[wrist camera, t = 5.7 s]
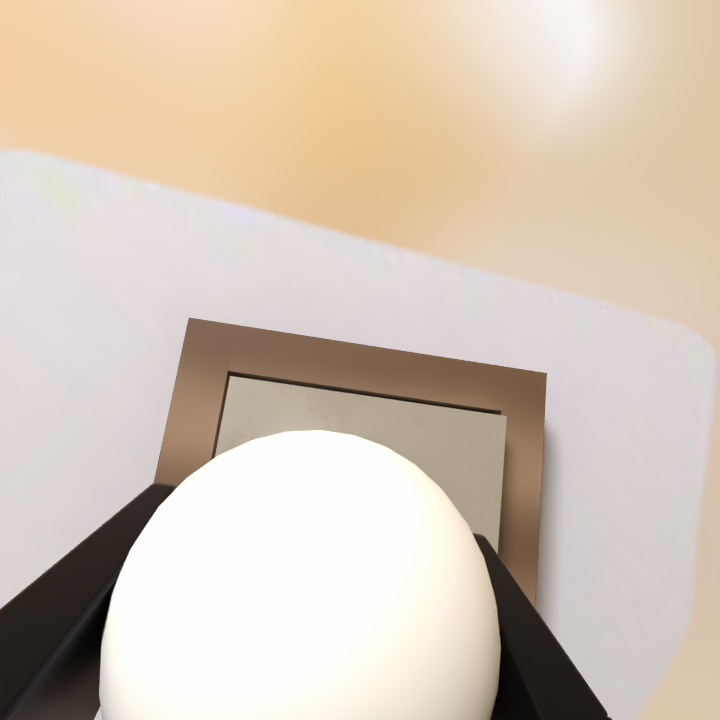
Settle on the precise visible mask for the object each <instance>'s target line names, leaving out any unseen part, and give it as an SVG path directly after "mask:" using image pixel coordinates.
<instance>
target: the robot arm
mask: <svg viewBox="0 0 720 720" xmlns="http://www.w3.org/2000/svg"><path fill="white" fill-rule="evenodd" d="M175 489H176V486H175V485H172V484H166V483H160V482H156V483H153V484H152V485H150V486H149V487H148V488H147V489H146V490H144V491H143V492H142V493H141V494H139V495H138V496H137V497H136V498H135V499H133V500H132V501H131V502H130V503H129V504H127V505H126V506H125V507H124V508H122V509H121V510H120V511H119V512H118V513H116V514H115V515H114V516H113V517H112V518H110V519H109V520H108V521H107V522H105V523H104V524H103V525H102V526H101V527H99V528H98V529H97V530H96V531H95V532H93V533H92V534H91V535H90V536H88V537H87V538H86V539H85V540H84V541H82V542H81V543H80V544H79V545H78V546H76V547H75V548H74V549H73V550H71V551H70V552H69V553H68V554H67V555H65V556H64V557H63V558H62V559H61V560H59V561H58V562H57V563H56V564H54V565H53V566H52V567H51V568H50V569H48V570H47V571H46V572H45V573H44V574H42V575H41V576H40V577H39V578H37V579H36V580H35V581H34V582H33V583H31V584H30V585H29V586H28V587H27V588H25V589H24V590H23V591H22V592H20V593H19V594H18V595H17V596H16V597H14V598H13V599H12V600H11V601H10V602H8V603H7V604H6V605H5V606H3V607H2V608H1V609H0V720H94V718H95V716H96V714H97V712H98V710H99V708H100V698H99V685H100V664H101V645H102V633H103V629H104V624H105V620H106V616H107V612H108V608H109V603H110V599H111V595H112V591H113V588H114V586H115V584H116V581H117V579H118V577H119V575H120V572H121V570H122V568H123V565H124V563H125V561H126V559H127V556H128V554H129V552H130V550H131V548H132V546H133V545H134V543H135V542H136V540H137V538H138V537H139V535H140V534H141V532H142V531H143V530H144V528H145V527H146V525H147V524H148V522H149V521H150V519H151V518H152V516H153V515H154V513H155V512H156V510H157V509H158V507H159V506H160V505H161V504H162V503H163V502H164V501H165V500H166V499H167V498H168V497H169V496H170V495H171V494H172V493H173V492H174V490H175ZM472 534H473V536H474V538H475V540H476V542H477V544H478V546H479V548H480V550H481V552H482V554H483V556H484V560H485V563H486V567H487V570H488V574H489V577H490V581H491V584H492V588H493V591H494V595H495V600H496V606H497V615H498V624H499V634H500V644H501V653H500V667H499V682H498V691H497V695H496V699H495V703H494V708H493V712H492V716H491V720H612V719H611V718H610V717H608V715H607V712H606V710H605V709H604V707H603V706H602V704H601V703H600V702H599V700H598V699H597V697H596V696H595V694H594V693H593V691H592V690H591V689H590V687H589V686H588V684H587V683H586V681H585V680H584V678H583V677H582V675H581V674H580V673H579V671H578V670H577V668H576V667H575V665H574V664H573V662H572V661H571V660H570V658H569V657H568V655H567V654H566V652H565V651H564V649H563V648H562V647H561V645H560V644H559V642H558V641H557V639H556V638H555V636H554V635H553V634H552V632H551V631H550V629H549V628H548V626H547V625H546V623H545V622H544V621H543V619H542V618H541V616H540V615H539V613H538V612H537V610H536V609H535V608H534V606H533V605H532V603H531V602H530V600H529V599H528V597H527V596H526V595H525V593H524V592H523V590H522V589H521V587H520V586H519V584H518V583H517V581H516V580H515V579H514V577H513V576H512V574H511V573H510V571H509V570H508V568H507V567H506V566H505V564H504V563H503V561H502V560H501V558H500V557H499V555H498V554H497V553H496V551H495V550H494V548H493V547H492V545H491V544H490V542H489V541H488V540H487V538H486V537H485V536H483V535H481V534H476V533H472Z"/></svg>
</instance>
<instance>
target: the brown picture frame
mask: <svg viewBox="0 0 720 720" xmlns="http://www.w3.org/2000/svg"><path fill="white" fill-rule="evenodd" d="M230 376H234V377H241V378H248V379H254V380H261V381H268V382H275V383H282V384H289V385H296V386H303V387H309V388H316V389H323V390H330V391H337V392H344V393H351V394H358V395H364V396H371V397H378V398H385V399H392V400H399V401H406V402H413V403H419V404H426V405H433V406H440V407H447V408H454V409H461V410H468V411H474V412H481V413H488V414H495V415H502V416H507V421H506V436H505V451H504V466H503V481H502V496H501V511H500V525H499V540H498V555H499V557H500V558H501V560H502V561H503V563H504V564H505V566H506V567H507V568H508V570H509V571H510V573H511V574H512V576H513V577H514V579H515V580H516V581H517V583H518V584H519V586H520V587H521V589H522V590H523V592H524V593H525V595H526V596H527V597H528V599H529V600H530V602H531V603H532V605H533V606H534V608H535V595H536V575H537V556H538V536H539V516H540V496H541V477H542V457H543V437H544V418H545V398H546V378H547V373H542V372H535V371H529V370H522V369H516V368H510V367H503V366H497V365H490V364H484V363H477V362H471V361H464V360H458V359H452V358H445V357H439V356H432V355H426V354H419V353H413V352H407V351H400V350H394V349H387V348H381V347H374V346H368V345H362V344H355V343H349V342H342V341H336V340H329V339H323V338H316V337H310V336H304V335H297V334H291V333H284V332H278V331H271V330H265V329H259V328H252V327H246V326H239V325H233V324H226V323H220V322H214V321H207V320H201V319H194V318H189V320H188V324H187V329H186V334H185V338H184V343H183V348H182V353H181V357H180V362H179V367H178V371H177V376H176V381H175V385H174V390H173V395H172V400H171V404H170V409H169V414H168V418H167V423H166V428H165V432H164V437H163V442H162V447H161V451H160V456H159V461H158V465H157V470H156V475H155V480H154V483H156V482H160V483H166V484H172V485H175V486H176V488H177V487H178V486H179V485H180V484H181V483H182V482H183V481H184V480H185V479H186V478H187V477H189V476H190V475H192V474H193V473H194V472H196V471H197V470H199V469H200V468H201V467H203V466H204V465H206V464H207V463H208V462H210V461H211V460H213V459H214V458H215V454H216V448H217V443H218V438H219V433H220V427H221V422H222V417H223V411H224V406H225V401H226V396H227V390H228V385H229V380H230Z"/></svg>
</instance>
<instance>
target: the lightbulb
mask: <svg viewBox="0 0 720 720" xmlns="http://www.w3.org/2000/svg"><path fill="white" fill-rule="evenodd" d="M500 653H501V644H500V634H499V624H498V615H497V606H496V600H495V595H494V591H493V588H492V584H491V581H490V577H489V574H488V570H487V567H486V563H485V560H484V556H483V554H482V552H481V550H480V548H479V546H478V544H477V542H476V540H475V538H474V536H473V534H472V532H471V530H470V528H469V526H468V524H467V522H466V521H465V520H464V518H463V517H462V516H461V514H460V513H459V512H458V510H457V509H456V507H455V506H454V505H453V503H452V502H451V501H450V499H449V498H448V497H447V495H446V494H445V493H444V491H443V490H442V489H441V488H440V487H439V486H438V485H437V484H436V483H435V482H434V481H433V480H432V479H431V478H429V477H428V476H427V475H426V474H425V473H424V472H423V471H422V470H421V469H420V468H419V467H417V466H416V465H415V464H414V463H412V462H410V461H409V460H407V459H405V458H404V457H402V456H401V455H399V454H397V453H396V452H394V451H392V450H391V449H389V448H387V447H385V446H383V445H380V444H377V443H375V442H372V441H369V440H366V439H364V438H361V437H358V436H355V435H350V434H343V433H337V432H330V431H323V430H312V431H292V432H283V433H279V434H275V435H271V436H267V437H263V438H259V439H255V440H251V441H249V442H247V443H245V444H242V445H240V446H238V447H236V448H234V449H232V450H229V451H227V452H225V453H223V454H221V455H219V456H217V457H215V458H214V459H213V460H211V461H210V462H208V463H207V464H206V465H204V466H203V467H201V468H200V469H199V470H197V471H196V472H194V473H193V474H192V475H190V476H189V477H187V478H186V479H185V480H184V481H183V482H182V483H181V484H180V485H179V486H178V487H177V488H176V489H175V490H174V492H173V493H172V494H171V495H170V496H169V497H168V498H167V499H166V500H165V501H164V502H163V503H162V504H161V505H160V506H159V507H158V509H157V510H156V512H155V513H154V515H153V516H152V518H151V519H150V521H149V522H148V524H147V525H146V527H145V528H144V530H143V531H142V532H141V534H140V535H139V537H138V538H137V540H136V542H135V543H134V545H133V546H132V548H131V550H130V552H129V554H128V556H127V559H126V561H125V563H124V565H123V568H122V570H121V572H120V575H119V577H118V579H117V581H116V584H115V586H114V588H113V591H112V595H111V599H110V603H109V608H108V612H107V616H106V620H105V624H104V629H103V633H102V645H101V664H100V685H99V698H100V705H101V712H102V718H103V720H491V716H492V712H493V708H494V703H495V699H496V695H497V691H498V682H499V667H500Z"/></svg>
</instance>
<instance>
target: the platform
mask: <svg viewBox="0 0 720 720" xmlns="http://www.w3.org/2000/svg"><path fill="white" fill-rule="evenodd" d="M506 421H507V416H502V415H495V414H488V413H481V412H474V411H468V410H461V409H454V408H447V407H440V406H433V405H426V404H419V403H413V402H406V401H399V400H392V399H385V398H378V397H371V396H364V395H358V394H351V393H344V392H337V391H330V390H323V389H316V388H309V387H303V386H296V385H289V384H282V383H275V382H268V381H261V380H254V379H248V378H241V377H234V376H230V380H229V385H228V390H227V396H226V401H225V406H224V411H223V417H222V422H221V427H220V433H219V438H218V443H217V448H216V454H215V457H217V456H219V455H221V454H223V453H225V452H227V451H229V450H232V449H234V448H236V447H238V446H240V445H242V444H245V443H247V442H249V441H251V440H255V439H259V438H263V437H267V436H271V435H275V434H279V433H283V432H292V431H312V430H323V431H330V432H337V433H343V434H350V435H355V436H358V437H361V438H364V439H366V440H369V441H372V442H375V443H377V444H380V445H383V446H385V447H387V448H389V449H391V450H392V451H394V452H396V453H397V454H399V455H401V456H402V457H404V458H405V459H407V460H409V461H410V462H412V463H414V464H415V465H416V466H417V467H419V468H420V469H421V470H422V471H423V472H424V473H425V474H426V475H427V476H428V477H429V478H431V479H432V480H433V481H434V482H435V483H436V484H437V485H438V486H439V487H440V488H441V489H442V490H443V491H444V493H445V494H446V495H447V497H448V498H449V499H450V501H451V502H452V503H453V505H454V506H455V507H456V509H457V510H458V512H459V513H460V514H461V516H462V517H463V518H464V520H465V521H466V522H467V524H468V526H469V528H470V530H471V532H472V533H476V534H481V535H483V536H485V537H486V538H487V540H488V541H489V542H490V544H491V545H492V547H493V548H494V550H495V551H496V553H497V554H498V540H499V525H500V511H501V496H502V481H503V466H504V451H505V436H506Z"/></svg>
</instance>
